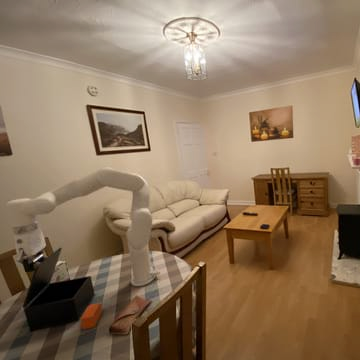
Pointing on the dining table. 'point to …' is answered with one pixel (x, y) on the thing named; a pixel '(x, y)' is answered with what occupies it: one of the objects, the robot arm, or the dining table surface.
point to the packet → (91, 316)
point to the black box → (59, 303)
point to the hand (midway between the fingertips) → (35, 266)
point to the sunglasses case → (128, 316)
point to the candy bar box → (60, 272)
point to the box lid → (41, 275)
